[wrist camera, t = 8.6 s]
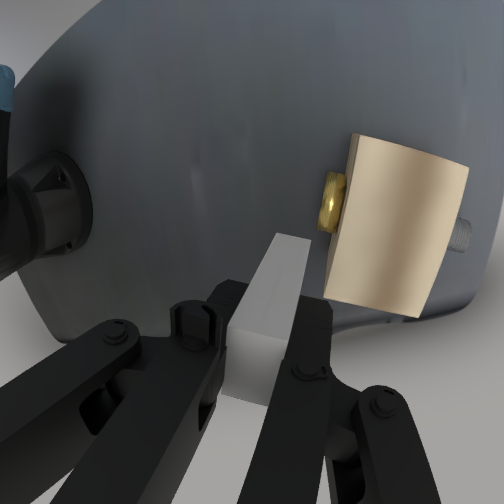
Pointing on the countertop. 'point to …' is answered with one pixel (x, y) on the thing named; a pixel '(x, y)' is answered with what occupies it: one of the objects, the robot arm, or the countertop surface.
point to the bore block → (392, 226)
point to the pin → (334, 206)
